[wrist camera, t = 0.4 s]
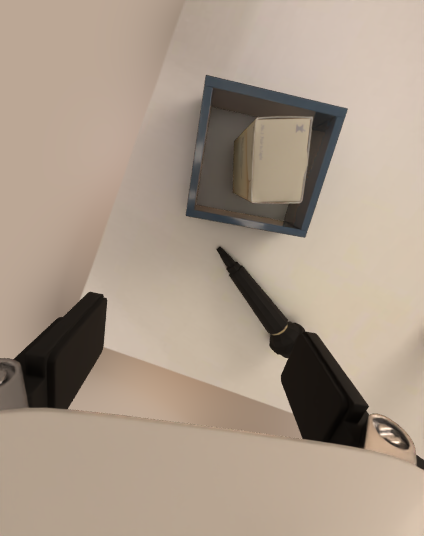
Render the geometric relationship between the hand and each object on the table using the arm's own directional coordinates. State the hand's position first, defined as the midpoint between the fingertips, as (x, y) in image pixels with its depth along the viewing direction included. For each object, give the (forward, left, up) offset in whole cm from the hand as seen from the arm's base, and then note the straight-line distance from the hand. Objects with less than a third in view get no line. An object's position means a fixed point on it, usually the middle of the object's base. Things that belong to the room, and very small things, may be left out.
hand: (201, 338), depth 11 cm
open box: (-9, +4, -22) cm, 24 cm away
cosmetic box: (-9, +4, -22) cm, 25 cm away
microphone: (+8, +10, -22) cm, 26 cm away
